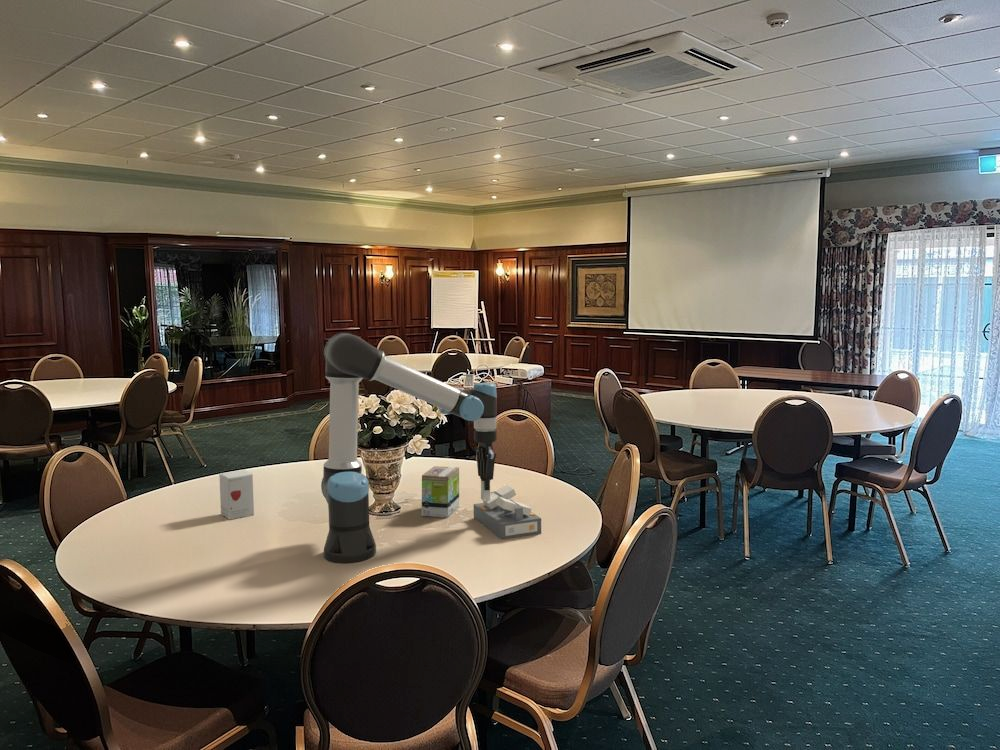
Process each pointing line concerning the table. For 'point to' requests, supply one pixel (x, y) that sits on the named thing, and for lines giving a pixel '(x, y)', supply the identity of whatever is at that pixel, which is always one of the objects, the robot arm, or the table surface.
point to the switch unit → (507, 521)
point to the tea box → (440, 491)
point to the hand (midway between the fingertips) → (485, 498)
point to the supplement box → (236, 494)
